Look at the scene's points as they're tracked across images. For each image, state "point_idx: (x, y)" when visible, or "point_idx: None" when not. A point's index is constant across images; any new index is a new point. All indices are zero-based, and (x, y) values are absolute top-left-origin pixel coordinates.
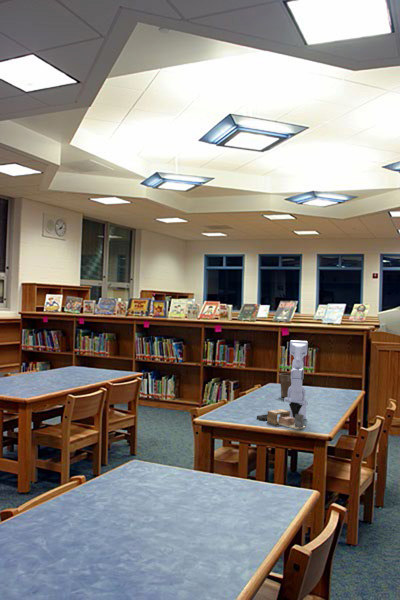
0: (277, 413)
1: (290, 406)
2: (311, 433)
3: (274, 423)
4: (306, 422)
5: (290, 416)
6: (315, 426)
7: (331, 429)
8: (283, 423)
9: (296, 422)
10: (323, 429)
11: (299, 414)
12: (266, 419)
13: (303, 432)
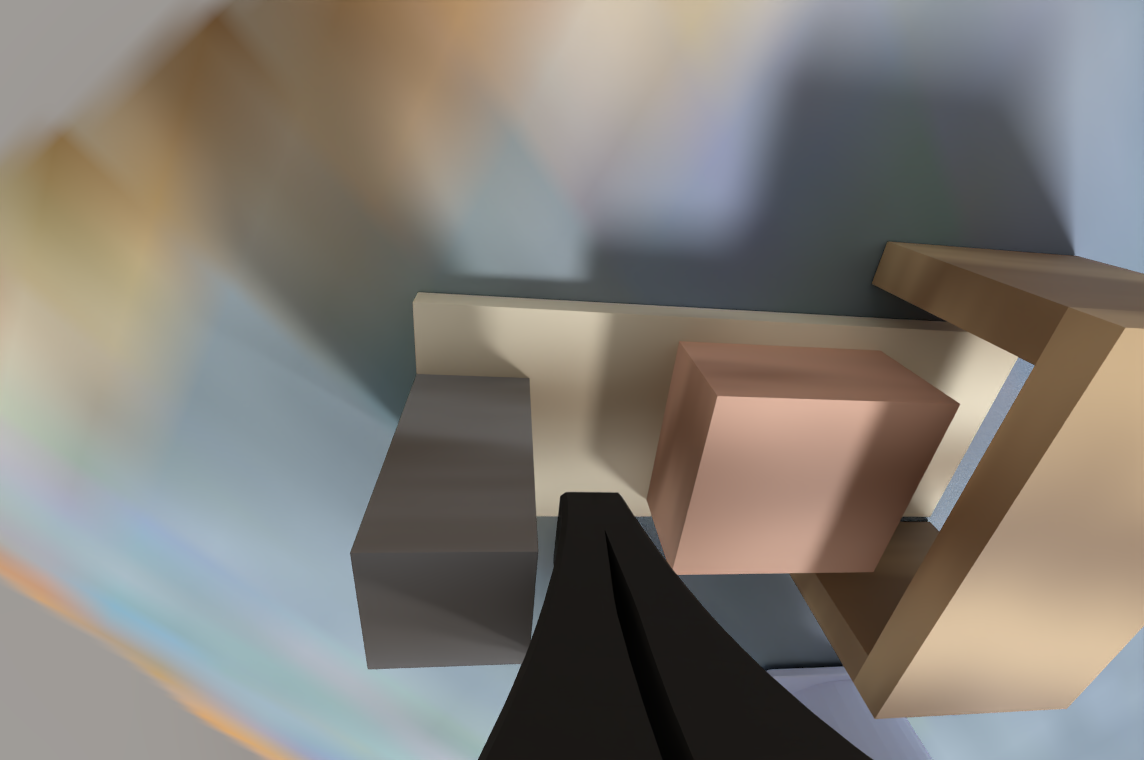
0: (1066, 379)
1: (820, 753)
2: (5, 266)
3: (924, 246)
4: None
5: None
6: None
7: (202, 691)
8: (771, 347)
9: (488, 419)
10: (237, 624)
11: (443, 611)
12: None
13: (136, 187)
